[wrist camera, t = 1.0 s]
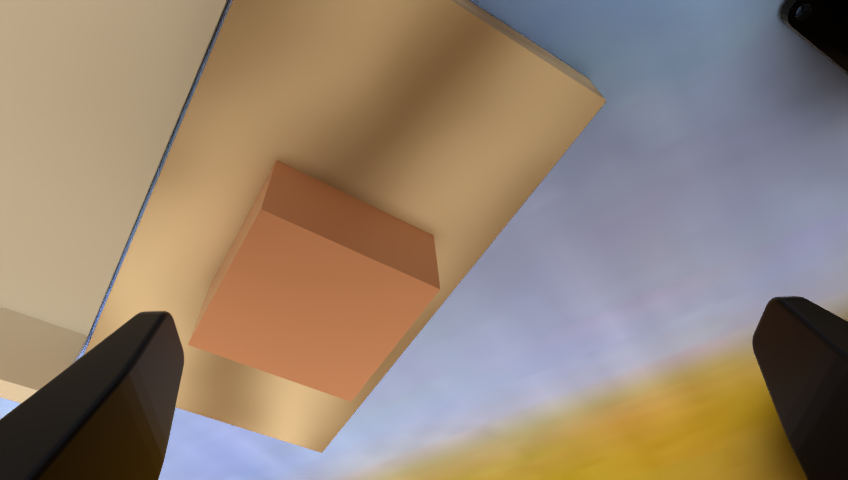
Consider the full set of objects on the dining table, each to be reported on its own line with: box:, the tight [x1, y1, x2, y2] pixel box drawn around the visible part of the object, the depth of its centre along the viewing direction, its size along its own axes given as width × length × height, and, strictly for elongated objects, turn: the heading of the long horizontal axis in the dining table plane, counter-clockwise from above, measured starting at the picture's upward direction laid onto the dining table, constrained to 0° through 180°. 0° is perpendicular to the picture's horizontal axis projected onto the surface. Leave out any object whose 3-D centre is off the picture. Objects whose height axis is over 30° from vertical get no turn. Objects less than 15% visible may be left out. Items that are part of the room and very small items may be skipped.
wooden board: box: [85, 0, 606, 453], centre depth 22 cm, size 11×20×2 cm, turn 148°
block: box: [188, 160, 440, 402], centre depth 20 cm, size 6×6×3 cm
